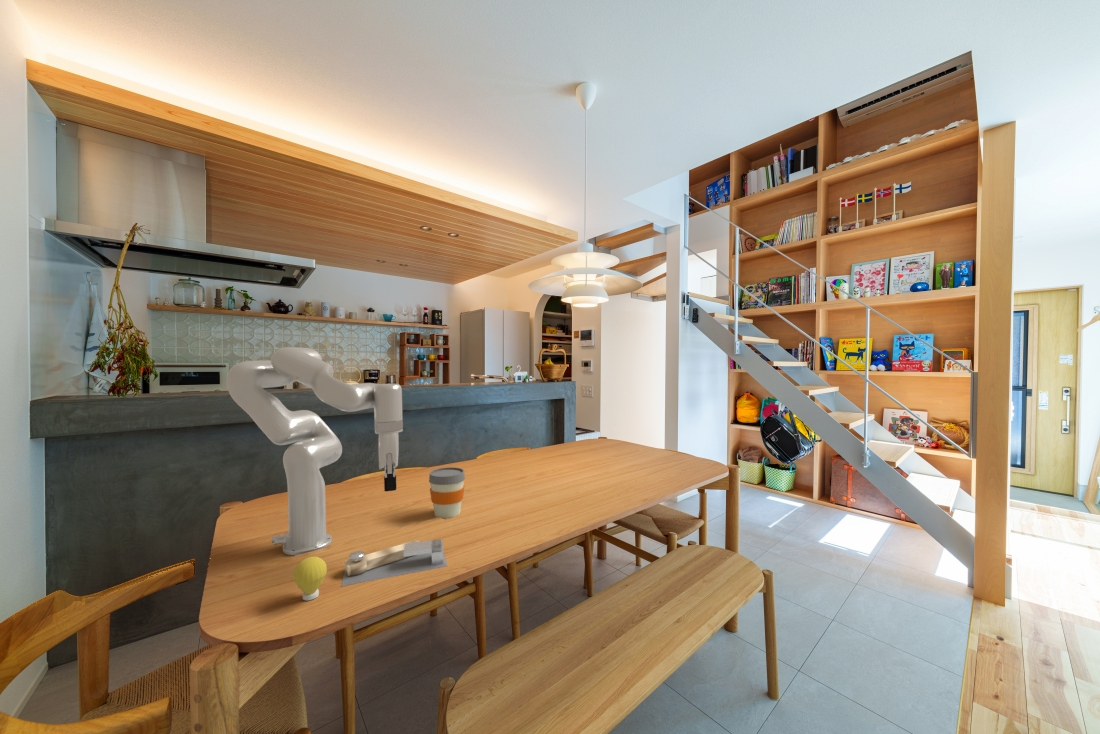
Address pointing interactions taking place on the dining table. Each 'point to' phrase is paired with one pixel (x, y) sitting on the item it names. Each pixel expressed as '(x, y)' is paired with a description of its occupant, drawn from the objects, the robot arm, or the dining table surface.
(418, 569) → the base board
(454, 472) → the reusable coffee cup
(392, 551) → the arm link
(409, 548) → the block
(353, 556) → the pin cap
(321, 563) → the light bulb
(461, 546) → the dining table surface
